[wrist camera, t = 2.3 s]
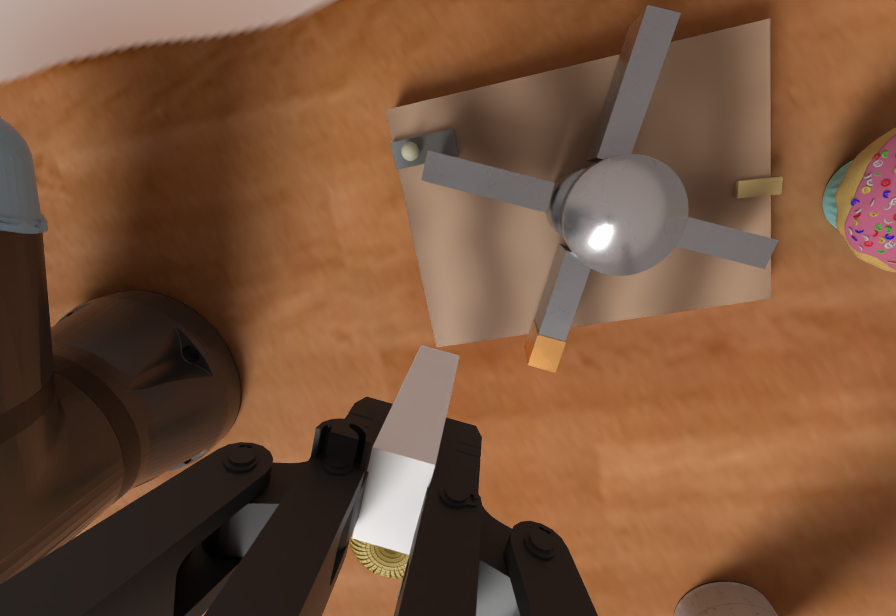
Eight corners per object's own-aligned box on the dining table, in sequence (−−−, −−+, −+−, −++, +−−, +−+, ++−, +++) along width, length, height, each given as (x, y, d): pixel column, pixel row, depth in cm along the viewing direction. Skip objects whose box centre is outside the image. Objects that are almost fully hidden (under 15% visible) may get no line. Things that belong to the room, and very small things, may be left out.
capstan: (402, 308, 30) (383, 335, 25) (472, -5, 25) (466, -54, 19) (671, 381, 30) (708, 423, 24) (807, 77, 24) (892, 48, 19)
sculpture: (433, 599, 35) (338, 579, 36) (440, 558, 39) (353, 541, 40) (446, 520, 33) (343, 500, 33) (451, 484, 37) (359, 467, 37)
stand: (439, 337, 33) (433, 355, 30) (392, 114, 29) (378, 105, 26) (760, 289, 30) (795, 304, 26) (757, 28, 26) (798, 4, 22)
